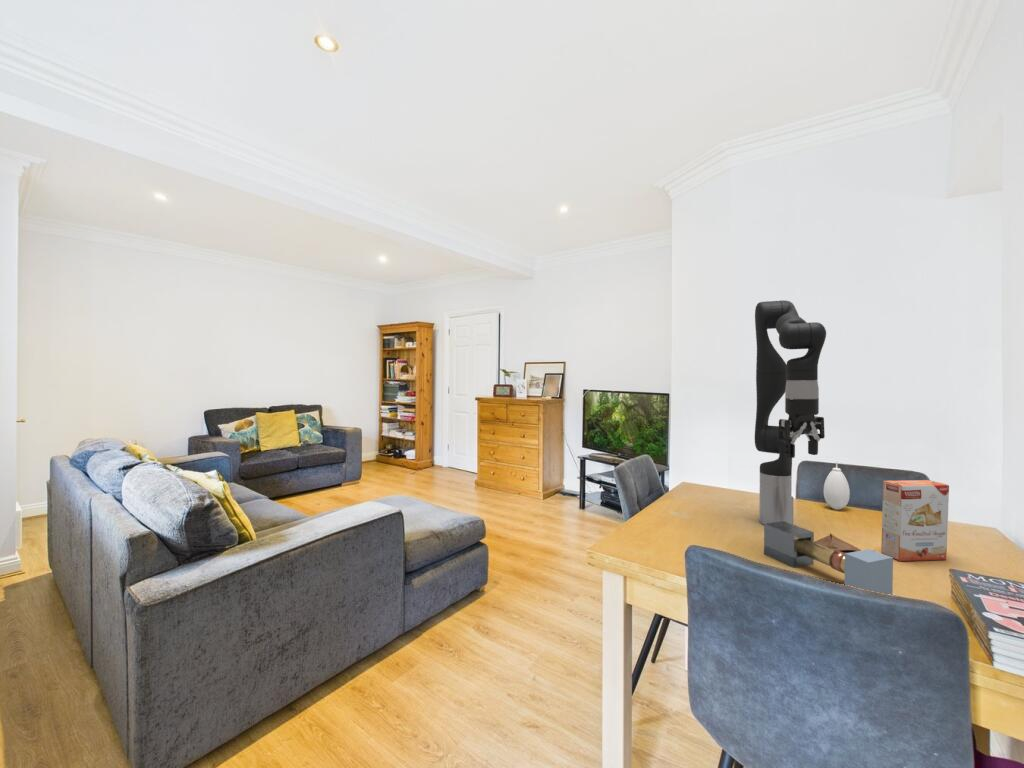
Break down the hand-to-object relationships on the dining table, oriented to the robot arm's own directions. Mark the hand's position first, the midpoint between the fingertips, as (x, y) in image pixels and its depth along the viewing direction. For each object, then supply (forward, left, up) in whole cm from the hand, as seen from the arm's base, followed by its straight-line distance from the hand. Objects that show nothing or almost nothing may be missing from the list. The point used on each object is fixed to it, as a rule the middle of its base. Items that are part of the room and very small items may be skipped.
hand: (801, 455), depth 116 cm
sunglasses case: (-12, +2, -29) cm, 32 cm away
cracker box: (-31, +9, -29) cm, 43 cm away
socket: (+3, +19, -28) cm, 34 cm away
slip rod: (+3, +10, -26) cm, 28 cm away
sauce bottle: (-54, -28, -29) cm, 67 cm away
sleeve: (+3, -1, -28) cm, 29 cm away
